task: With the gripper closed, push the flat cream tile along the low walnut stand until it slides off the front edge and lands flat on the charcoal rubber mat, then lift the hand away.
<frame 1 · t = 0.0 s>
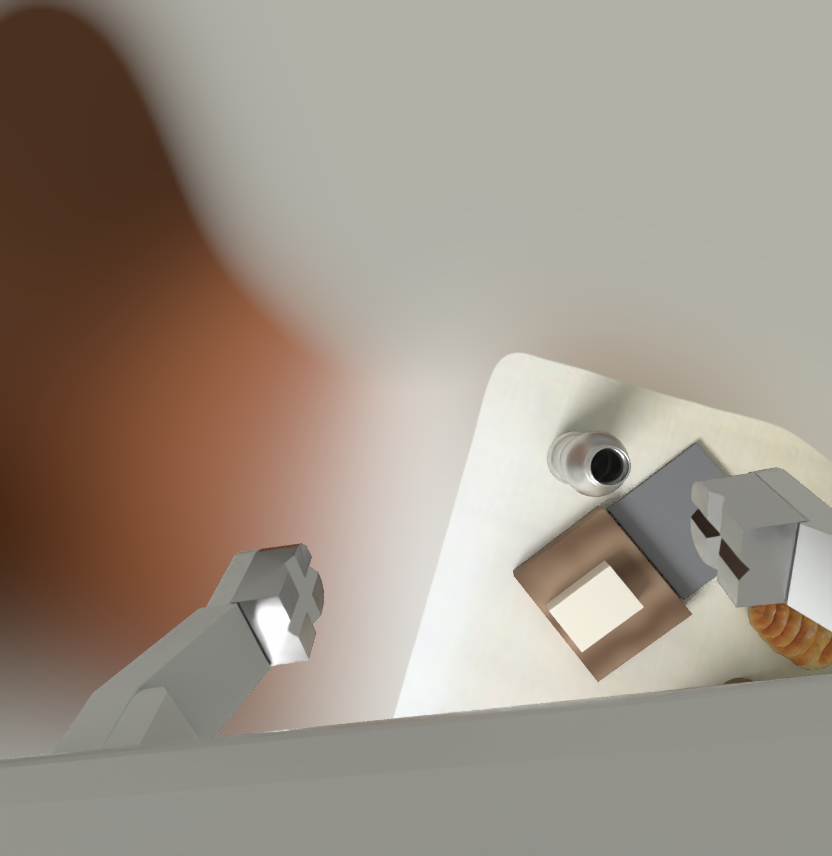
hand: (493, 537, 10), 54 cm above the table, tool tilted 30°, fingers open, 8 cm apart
stand: (596, 588, 62), on the table
pastry: (785, 627, 59), on the table
mat: (688, 520, 60), on the table
tile: (591, 602, 59), point 2 cm above the table, touching stand
plastic bottle: (569, 457, 63), on the table
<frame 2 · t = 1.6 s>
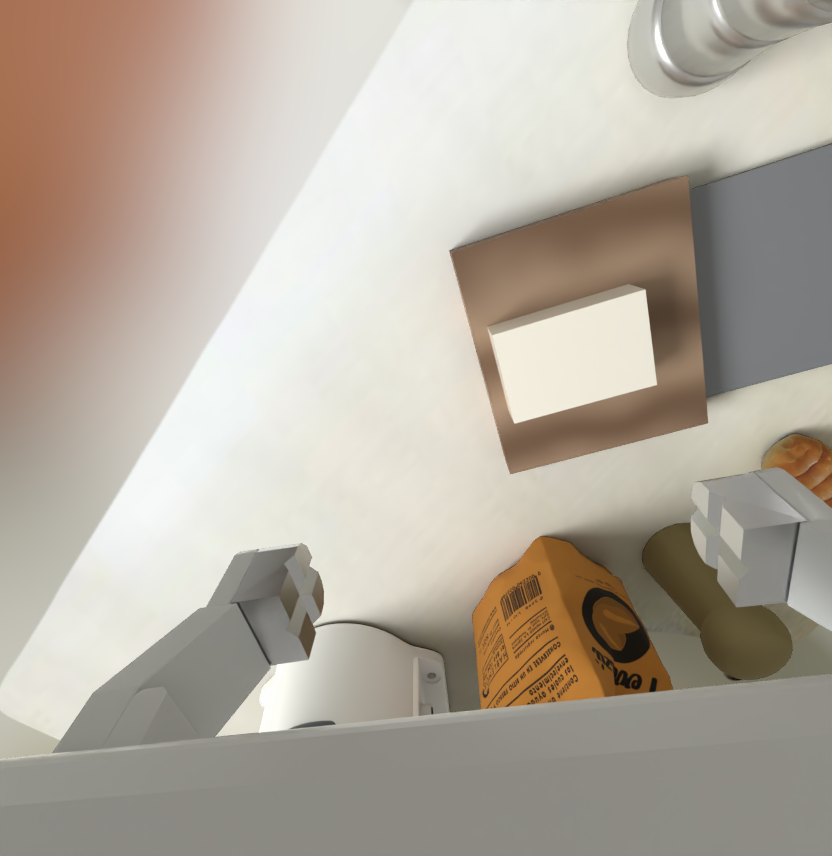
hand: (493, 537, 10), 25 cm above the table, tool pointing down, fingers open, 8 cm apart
stand: (576, 335, 34), on the table
coffee package: (540, 591, 43), on the table
pastry: (795, 485, 39), on the table
mat: (792, 271, 32), on the table
tile: (565, 350, 32), point 2 cm above the table, touching stand
cork: (677, 551, 41), on the table
plastic bottle: (672, 39, 27), on the table
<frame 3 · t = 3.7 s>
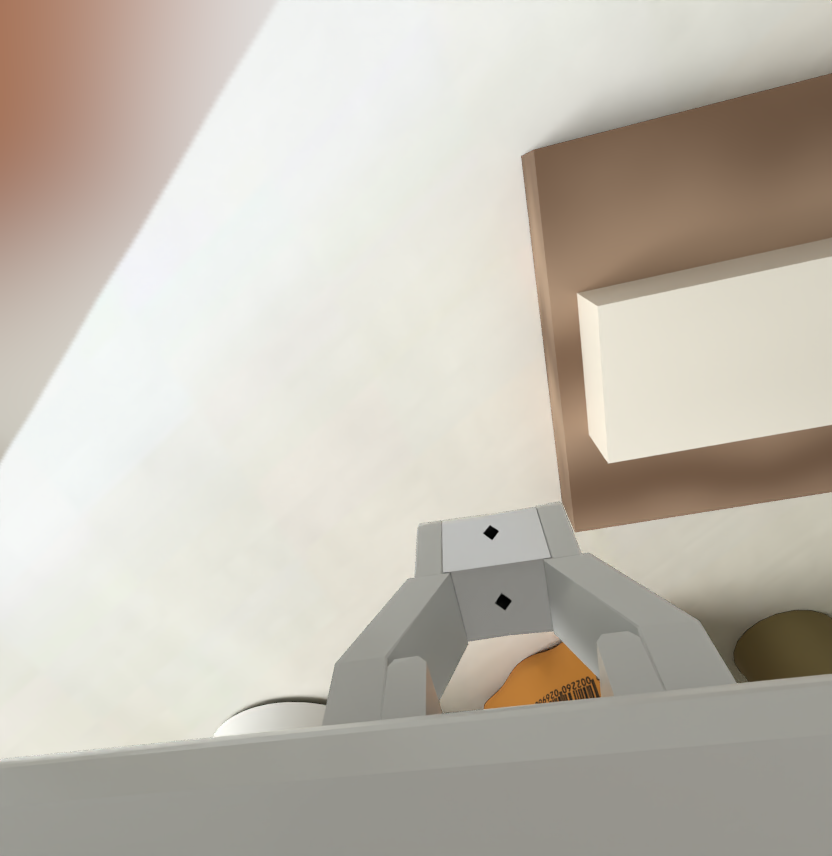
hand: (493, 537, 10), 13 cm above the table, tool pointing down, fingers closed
stand: (708, 322, 21), on the table
coffee package: (582, 680, 31), on the table
tile: (701, 344, 19), point 2 cm above the table, touching stand
cork: (784, 644, 29), on the table
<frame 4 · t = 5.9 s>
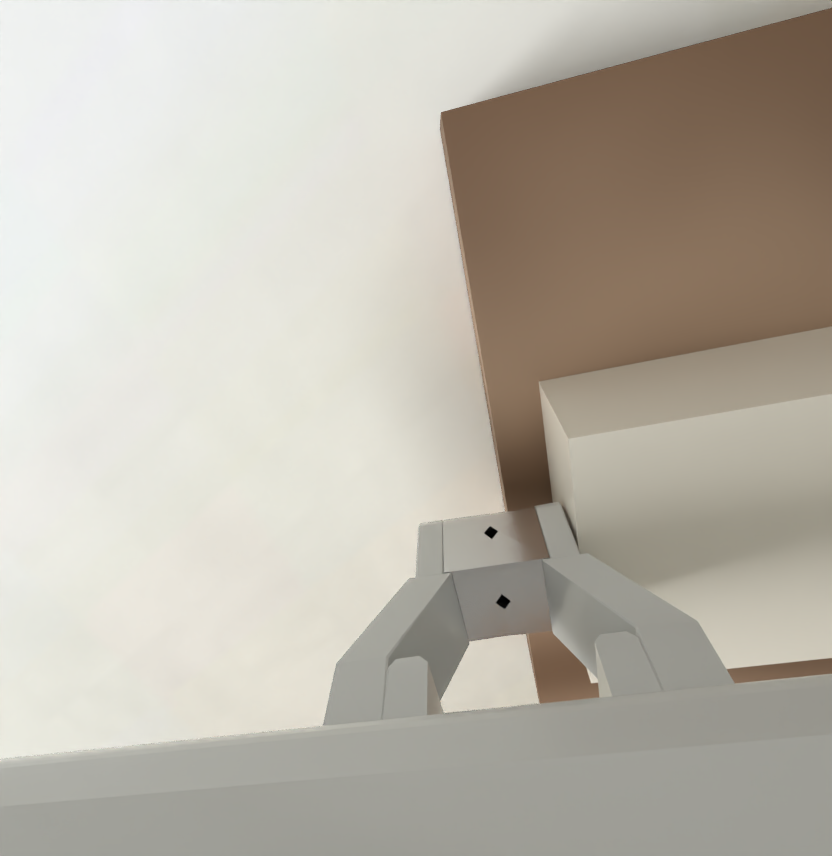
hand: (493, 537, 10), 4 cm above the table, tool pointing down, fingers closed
stand: (761, 408, 13), on the table
tile: (759, 467, 11), point 3 cm above the table, touching gripper
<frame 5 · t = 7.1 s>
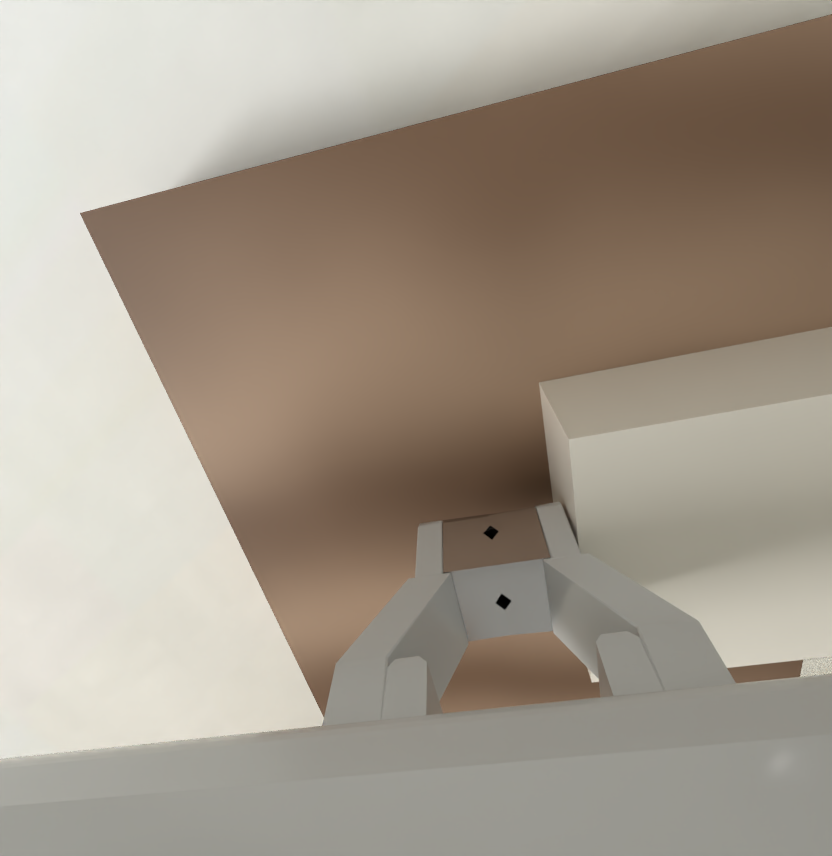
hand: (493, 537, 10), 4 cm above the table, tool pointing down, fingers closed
stand: (505, 453, 14), on the table
tile: (759, 467, 11), point 3 cm above the table, touching gripper
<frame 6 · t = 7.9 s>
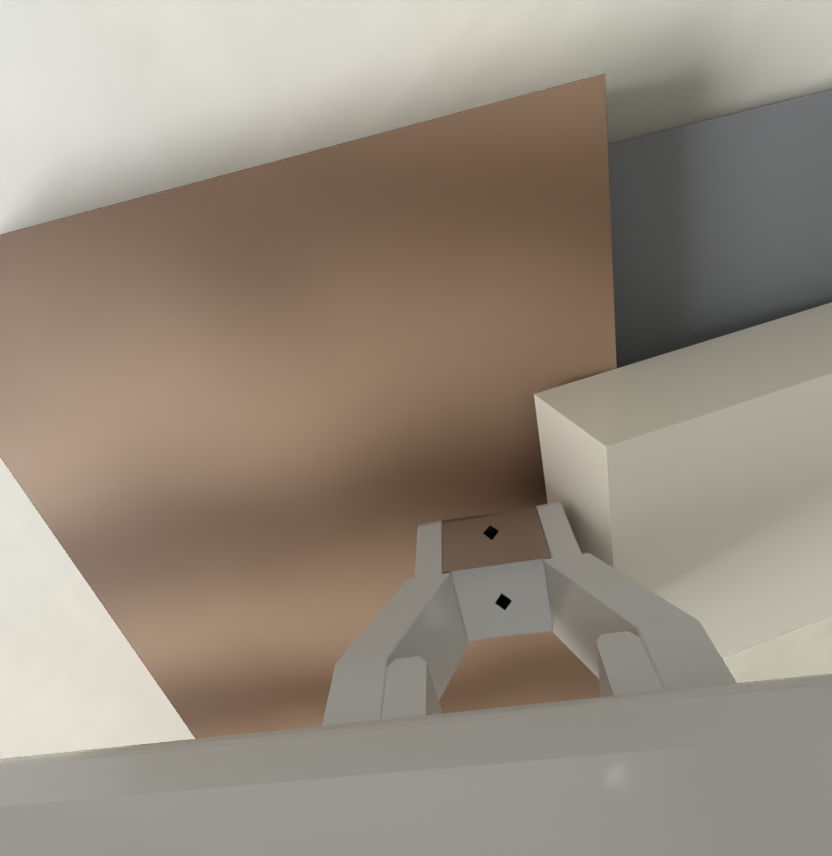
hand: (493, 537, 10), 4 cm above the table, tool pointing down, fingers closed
stand: (347, 480, 14), on the table
tile: (724, 455, 11), point 2 cm above the table, tilted 15°, touching gripper, mat, stand
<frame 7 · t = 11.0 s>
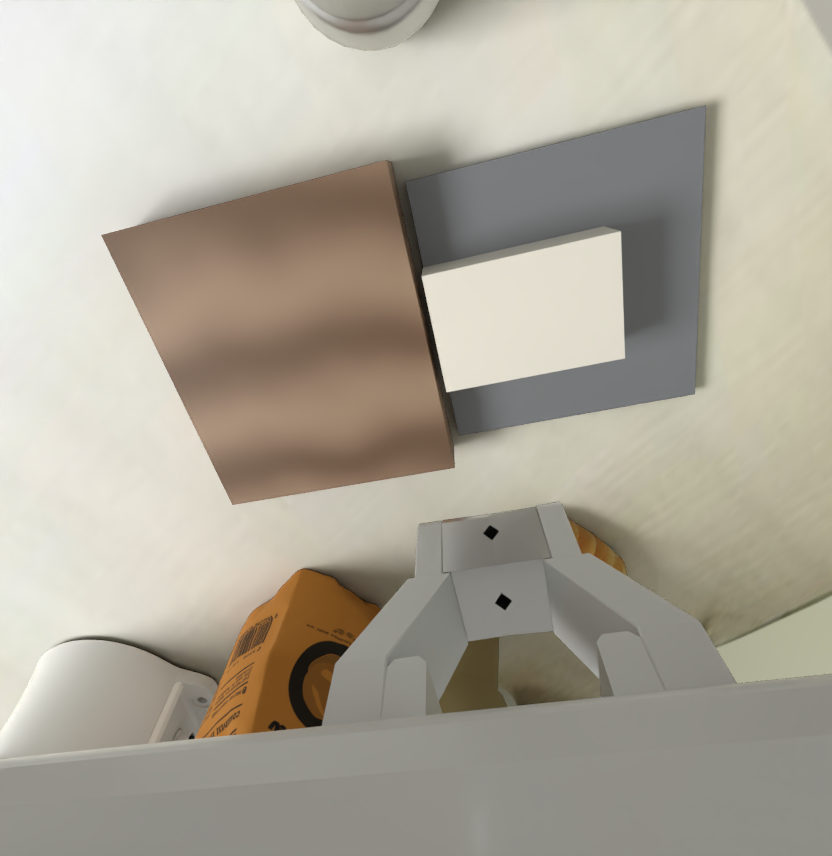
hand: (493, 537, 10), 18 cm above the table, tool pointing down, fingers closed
stand: (307, 348, 28), on the table
coffee package: (313, 624, 39), on the table
pastry: (560, 558, 35), on the table
mat: (559, 294, 26), on the table
tile: (518, 306, 25), point 1 cm above the table, touching mat
cork: (459, 596, 36), on the table
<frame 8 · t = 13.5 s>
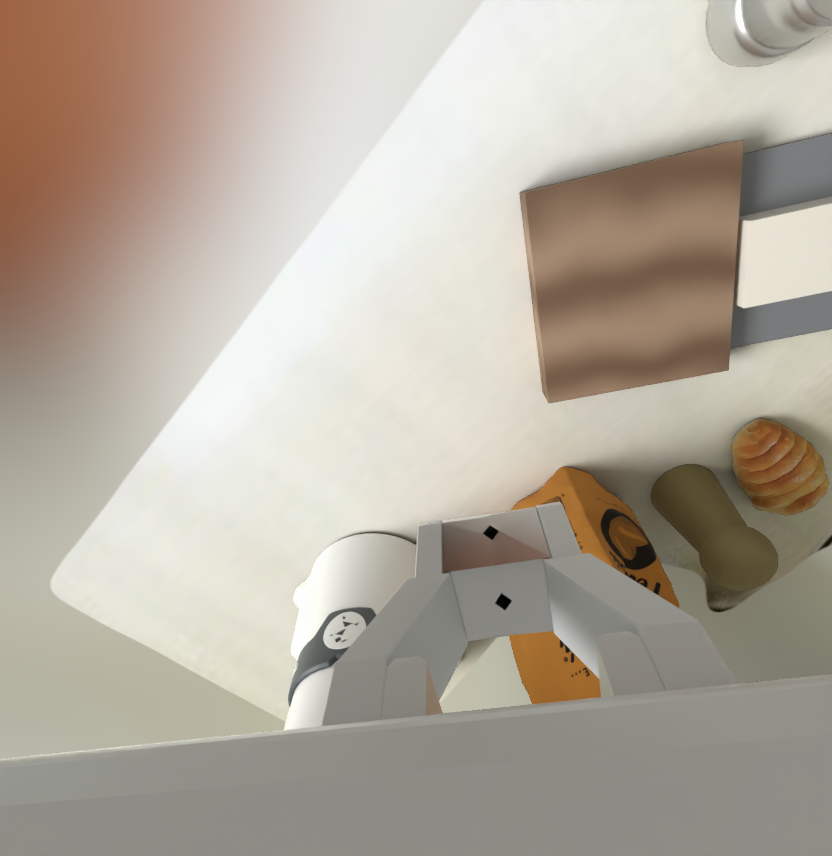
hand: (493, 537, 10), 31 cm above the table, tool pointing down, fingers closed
stand: (622, 281, 38), on the table
coffee package: (556, 517, 48), on the table
pastry: (763, 461, 45), on the table
mat: (820, 239, 36), on the table
tile: (793, 247, 35), point 1 cm above the table, touching mat
cork: (682, 490, 46), on the table
plastic bottle: (745, 12, 30), on the table
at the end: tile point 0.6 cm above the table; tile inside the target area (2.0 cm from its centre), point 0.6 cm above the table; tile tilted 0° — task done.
